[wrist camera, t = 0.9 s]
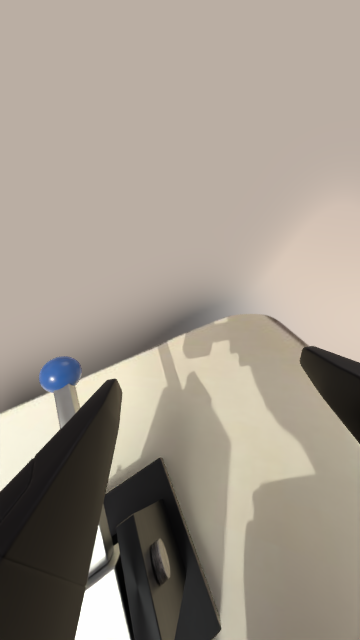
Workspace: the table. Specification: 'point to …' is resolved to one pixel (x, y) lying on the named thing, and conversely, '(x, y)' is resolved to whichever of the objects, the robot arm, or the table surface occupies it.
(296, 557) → the table surface
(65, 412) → the tap lever
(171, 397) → the table surface
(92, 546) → the robot arm
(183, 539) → the black lever base
